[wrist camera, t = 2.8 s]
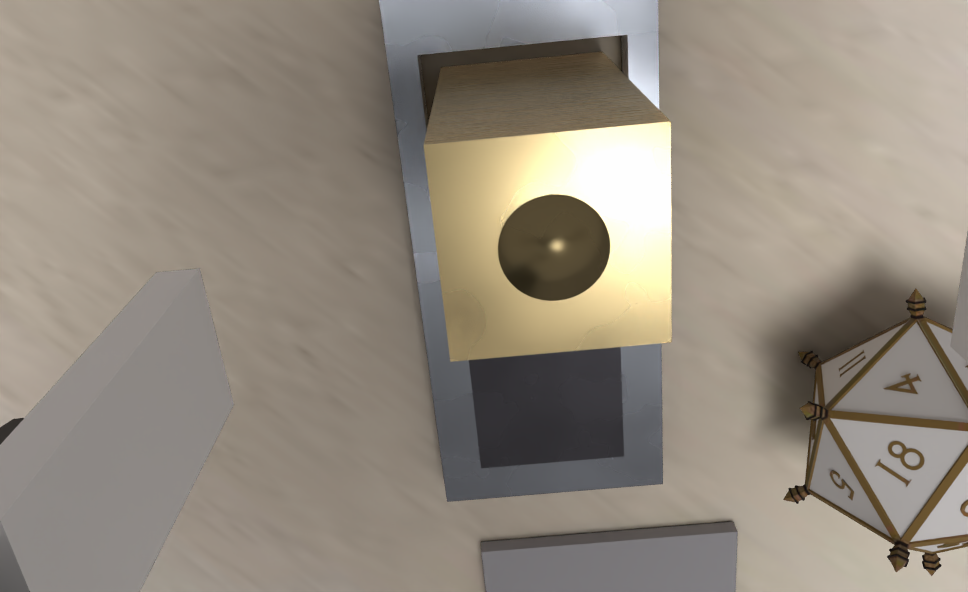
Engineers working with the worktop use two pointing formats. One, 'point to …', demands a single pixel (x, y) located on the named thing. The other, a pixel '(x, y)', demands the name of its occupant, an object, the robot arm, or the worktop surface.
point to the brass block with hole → (549, 207)
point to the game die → (893, 437)
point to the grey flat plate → (539, 377)
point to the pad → (616, 561)
